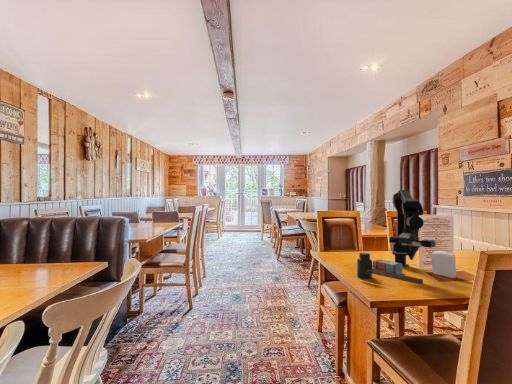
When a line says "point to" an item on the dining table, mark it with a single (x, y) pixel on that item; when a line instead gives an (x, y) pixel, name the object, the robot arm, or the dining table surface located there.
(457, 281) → the dining table surface
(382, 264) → the pink block
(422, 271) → the dining table surface
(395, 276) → the shelf board
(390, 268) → the teal block
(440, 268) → the photo printer
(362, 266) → the supplement bottle
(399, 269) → the bookend
